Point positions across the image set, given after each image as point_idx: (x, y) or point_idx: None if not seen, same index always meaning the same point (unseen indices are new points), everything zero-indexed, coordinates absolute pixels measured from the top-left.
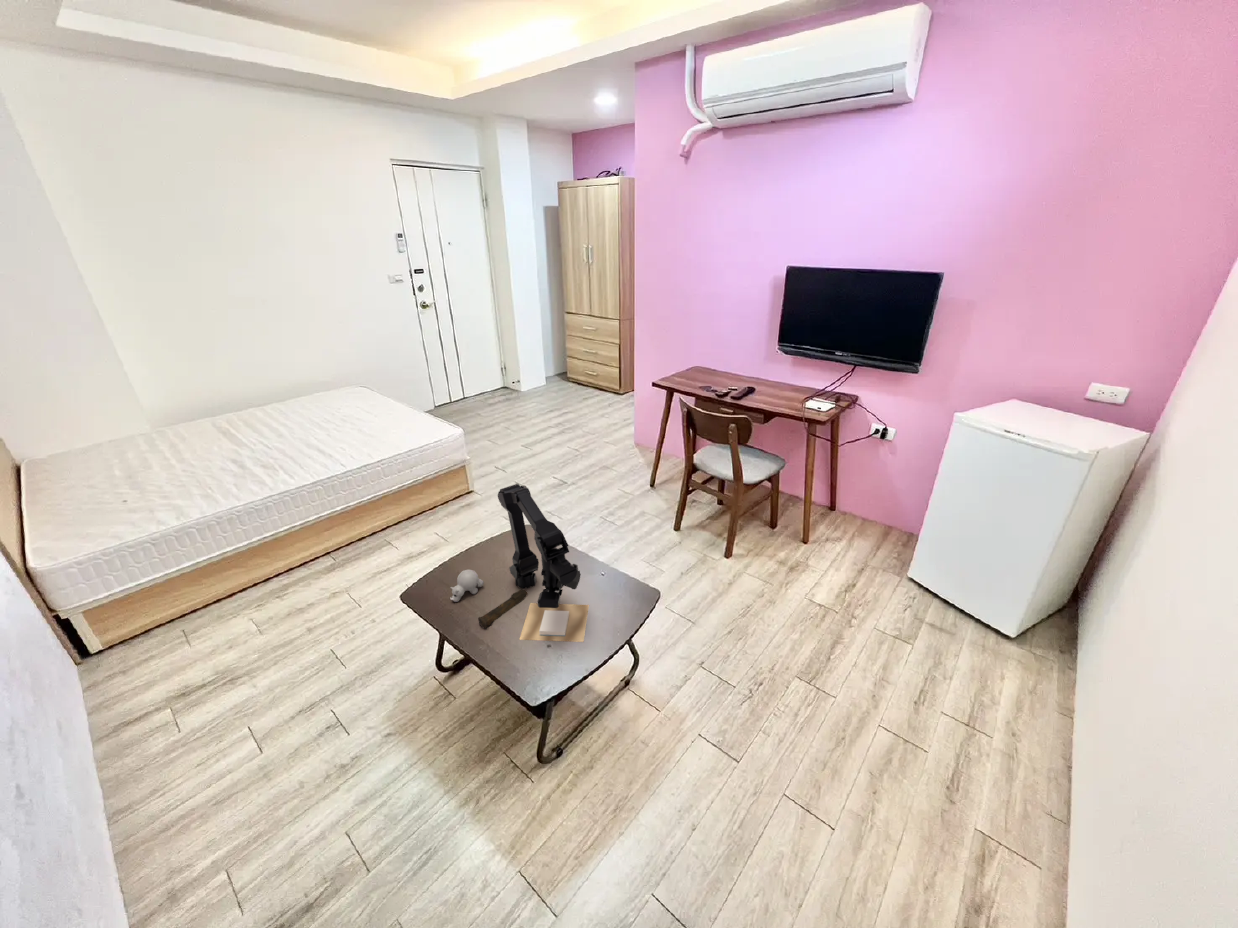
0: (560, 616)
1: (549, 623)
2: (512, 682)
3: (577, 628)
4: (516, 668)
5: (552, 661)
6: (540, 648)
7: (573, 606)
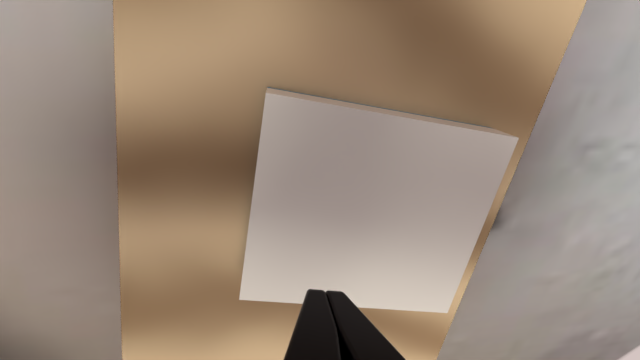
0: (331, 176)
1: (391, 256)
2: (626, 347)
3: (440, 16)
4: (566, 345)
5: (604, 196)
6: (492, 262)
7: (146, 38)
